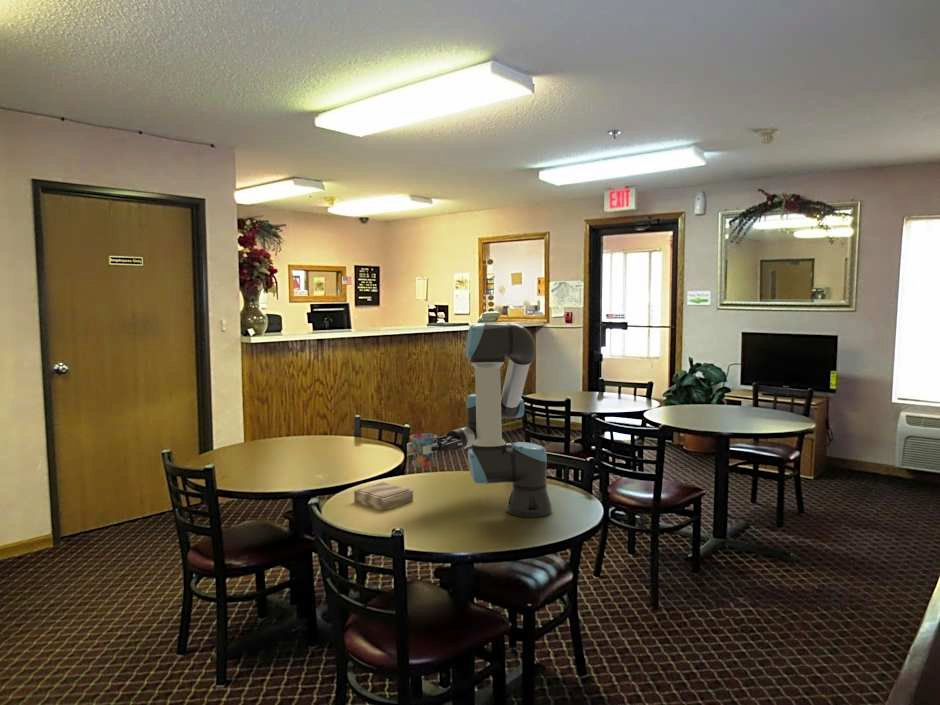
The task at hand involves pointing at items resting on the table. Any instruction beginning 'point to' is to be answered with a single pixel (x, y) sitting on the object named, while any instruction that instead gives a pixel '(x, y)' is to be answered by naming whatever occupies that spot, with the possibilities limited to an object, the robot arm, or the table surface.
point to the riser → (383, 496)
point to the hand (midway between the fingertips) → (415, 448)
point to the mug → (418, 444)
